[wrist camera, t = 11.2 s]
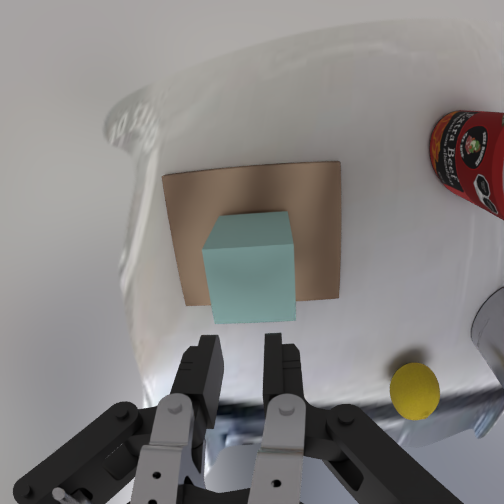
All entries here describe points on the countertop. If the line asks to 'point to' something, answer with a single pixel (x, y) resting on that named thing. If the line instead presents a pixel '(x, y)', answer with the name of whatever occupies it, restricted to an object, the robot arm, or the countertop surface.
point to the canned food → (471, 157)
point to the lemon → (414, 391)
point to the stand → (260, 201)
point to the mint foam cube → (251, 268)
